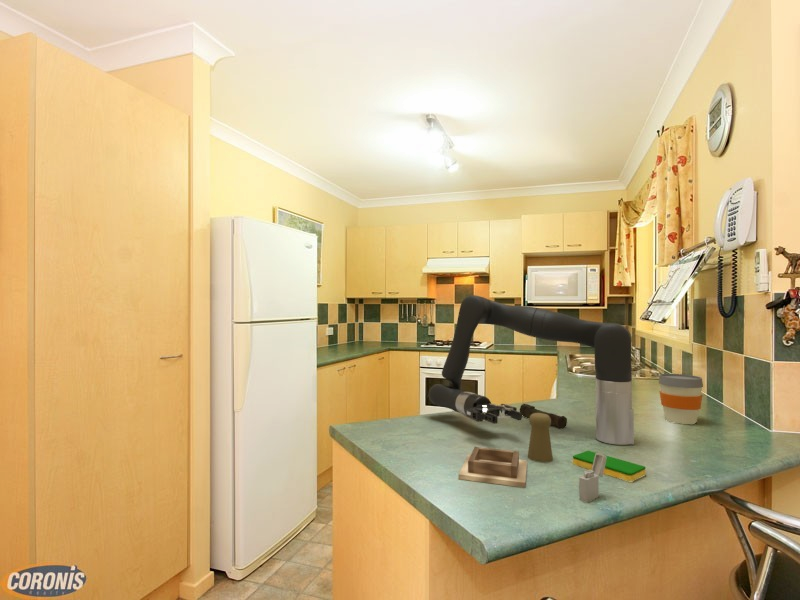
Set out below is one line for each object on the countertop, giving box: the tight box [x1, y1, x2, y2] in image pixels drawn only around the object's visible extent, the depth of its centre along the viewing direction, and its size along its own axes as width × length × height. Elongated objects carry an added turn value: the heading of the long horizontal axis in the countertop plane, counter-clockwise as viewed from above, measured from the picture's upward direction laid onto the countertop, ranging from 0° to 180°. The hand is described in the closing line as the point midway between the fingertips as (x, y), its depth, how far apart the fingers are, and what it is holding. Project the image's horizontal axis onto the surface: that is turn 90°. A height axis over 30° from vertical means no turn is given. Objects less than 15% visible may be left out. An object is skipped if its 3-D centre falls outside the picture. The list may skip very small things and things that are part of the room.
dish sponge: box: [572, 450, 647, 482], centre depth 100 cm, size 7×14×2 cm, turn 36°
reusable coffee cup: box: [658, 373, 704, 425], centre depth 144 cm, size 13×13×15 cm
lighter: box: [578, 452, 607, 503], centre depth 85 cm, size 7×2×8 cm, turn 124°
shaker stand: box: [458, 446, 528, 488], centre depth 98 cm, size 14×14×4 cm
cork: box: [527, 413, 554, 463], centre depth 108 cm, size 6×6×11 cm
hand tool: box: [519, 403, 568, 429], centre depth 143 cm, size 19×4×5 cm, turn 26°
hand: (508, 418), depth 118 cm, fingers open, 8 cm apart
